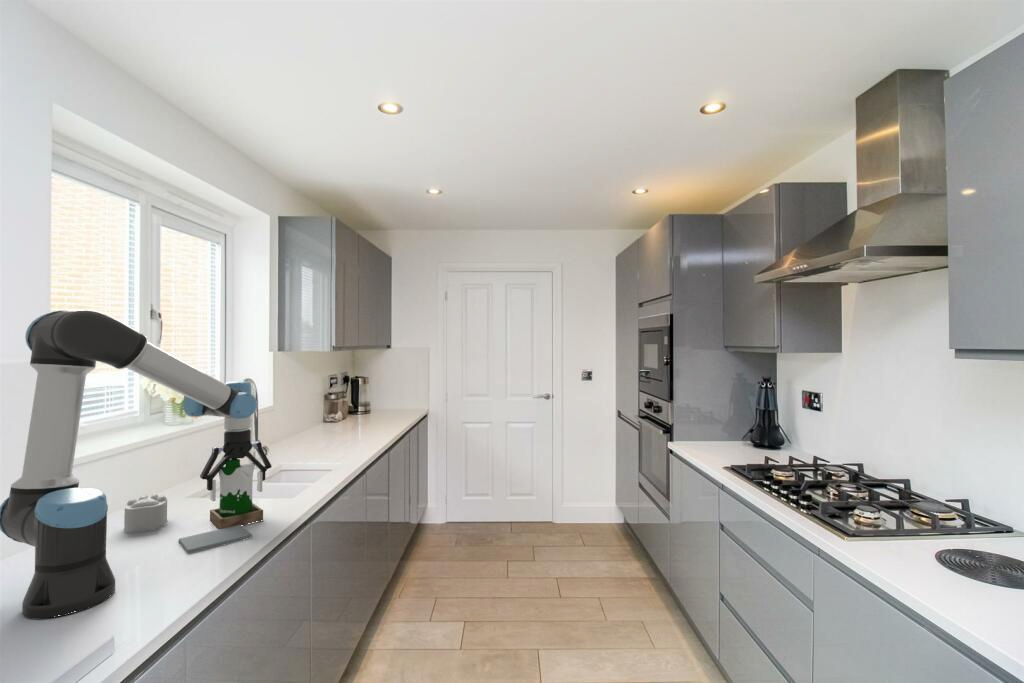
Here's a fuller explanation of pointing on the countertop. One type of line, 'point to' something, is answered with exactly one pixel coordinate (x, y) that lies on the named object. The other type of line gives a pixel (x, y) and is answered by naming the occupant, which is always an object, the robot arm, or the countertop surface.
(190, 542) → the mat
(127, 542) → the countertop surface
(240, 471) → the soya milk
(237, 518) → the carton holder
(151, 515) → the lumpy-topped squat cylinder
